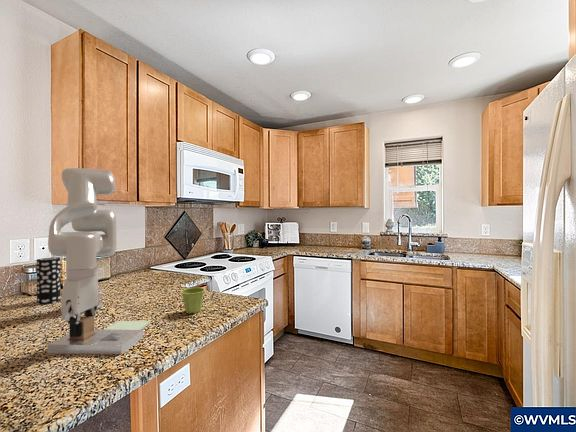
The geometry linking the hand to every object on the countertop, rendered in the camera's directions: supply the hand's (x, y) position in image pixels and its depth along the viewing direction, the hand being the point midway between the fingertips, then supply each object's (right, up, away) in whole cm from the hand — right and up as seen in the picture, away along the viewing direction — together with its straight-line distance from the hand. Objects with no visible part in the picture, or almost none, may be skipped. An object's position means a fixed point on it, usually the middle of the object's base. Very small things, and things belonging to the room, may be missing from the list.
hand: (82, 332), depth 87 cm
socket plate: (+5, -4, 0) cm, 6 cm away
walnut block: (0, -4, 0) cm, 4 cm away
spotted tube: (-47, -4, +44) cm, 65 cm away
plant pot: (+24, -4, +30) cm, 39 cm away
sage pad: (+6, -4, +13) cm, 15 cm away
